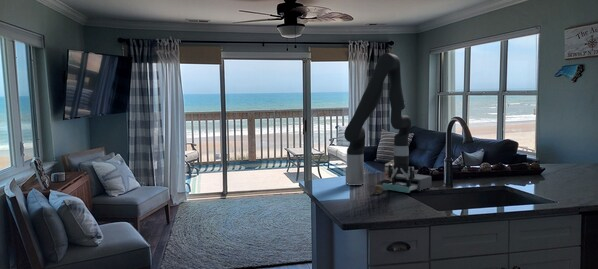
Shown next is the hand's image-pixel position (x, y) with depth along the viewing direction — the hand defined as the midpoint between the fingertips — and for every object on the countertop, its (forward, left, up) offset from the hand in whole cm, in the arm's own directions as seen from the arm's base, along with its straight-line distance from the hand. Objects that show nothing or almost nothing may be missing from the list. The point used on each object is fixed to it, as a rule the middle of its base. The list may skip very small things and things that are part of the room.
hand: (401, 185), depth 214 cm
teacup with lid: (-17, +20, -3) cm, 26 cm away
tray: (0, 0, -2) cm, 2 cm away
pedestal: (-5, -13, -3) cm, 14 cm away
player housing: (0, +11, -3) cm, 11 cm away
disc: (0, 0, -1) cm, 1 cm away
